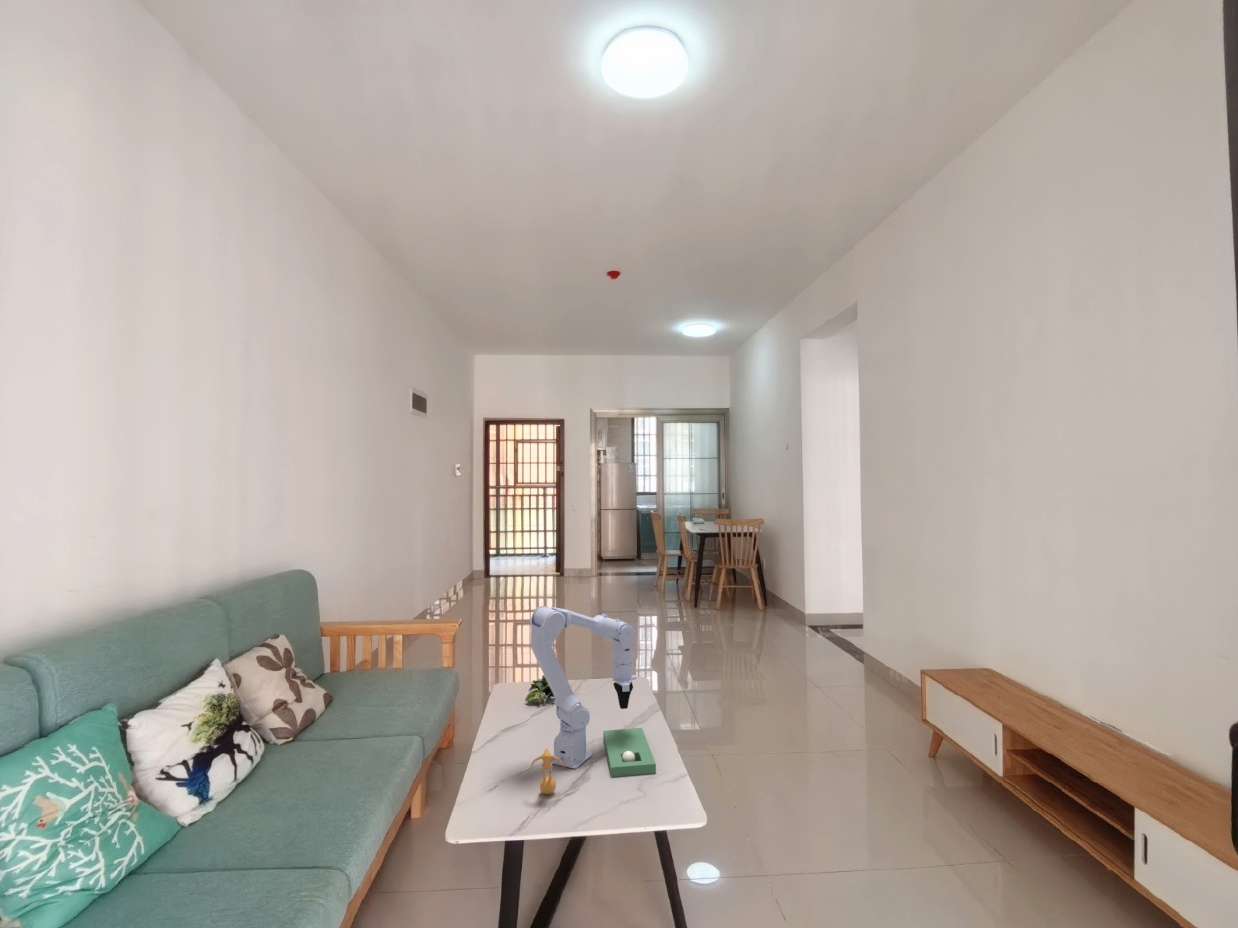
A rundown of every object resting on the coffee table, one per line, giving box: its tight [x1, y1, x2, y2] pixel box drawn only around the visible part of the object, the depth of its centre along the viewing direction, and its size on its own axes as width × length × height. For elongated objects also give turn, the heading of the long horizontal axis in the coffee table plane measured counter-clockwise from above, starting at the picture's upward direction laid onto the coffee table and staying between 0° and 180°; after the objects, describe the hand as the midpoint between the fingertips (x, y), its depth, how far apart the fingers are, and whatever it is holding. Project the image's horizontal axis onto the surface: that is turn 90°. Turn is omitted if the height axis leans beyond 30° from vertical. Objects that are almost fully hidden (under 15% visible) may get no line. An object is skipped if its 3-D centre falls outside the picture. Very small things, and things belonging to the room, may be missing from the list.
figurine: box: [529, 747, 565, 796], centre depth 149 cm, size 8×6×12 cm
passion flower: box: [524, 674, 555, 707], centre depth 213 cm, size 11×11×12 cm
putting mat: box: [602, 727, 657, 778], centre depth 170 cm, size 24×12×2 cm, turn 7°
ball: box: [622, 751, 635, 762], centre depth 164 cm, size 4×4×4 cm
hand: (623, 707), depth 178 cm, fingers closed
